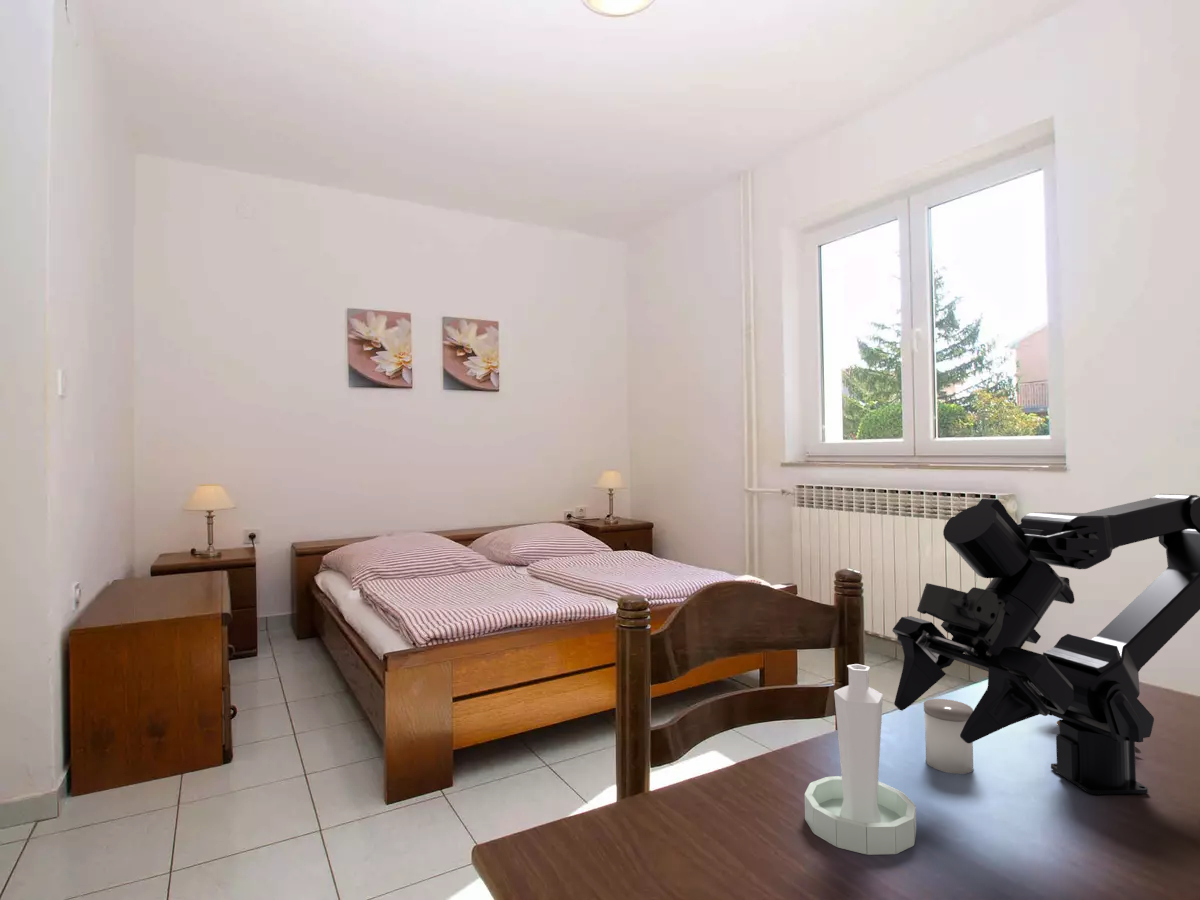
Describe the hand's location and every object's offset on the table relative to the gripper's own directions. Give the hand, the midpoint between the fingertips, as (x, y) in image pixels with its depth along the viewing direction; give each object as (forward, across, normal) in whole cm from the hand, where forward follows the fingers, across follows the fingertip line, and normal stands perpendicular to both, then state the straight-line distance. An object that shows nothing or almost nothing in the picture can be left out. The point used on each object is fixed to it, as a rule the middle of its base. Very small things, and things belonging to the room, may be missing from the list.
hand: (928, 722), depth 69 cm
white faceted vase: (+12, 0, 0) cm, 12 cm away
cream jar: (-1, -8, +14) cm, 16 cm away
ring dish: (+12, 0, 0) cm, 13 cm away
